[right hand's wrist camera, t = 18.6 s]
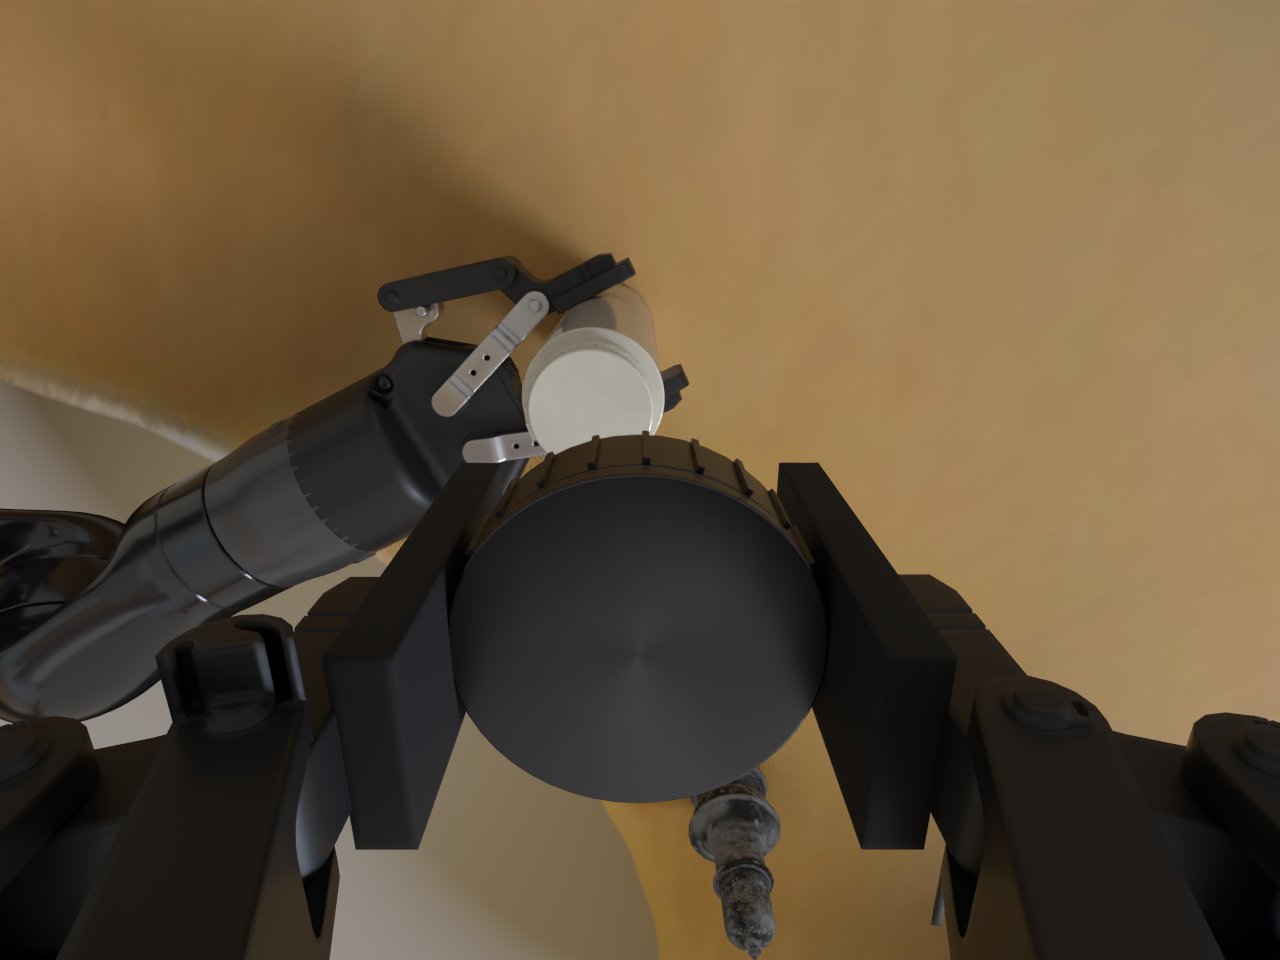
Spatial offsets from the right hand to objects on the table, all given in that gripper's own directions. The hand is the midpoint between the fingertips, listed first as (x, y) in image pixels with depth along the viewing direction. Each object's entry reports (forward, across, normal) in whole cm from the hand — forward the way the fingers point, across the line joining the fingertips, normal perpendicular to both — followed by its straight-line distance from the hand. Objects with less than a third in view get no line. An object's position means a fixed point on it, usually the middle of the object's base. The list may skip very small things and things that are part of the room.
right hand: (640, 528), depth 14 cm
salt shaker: (+26, -6, +31) cm, 41 cm away
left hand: (+20, -1, -1) cm, 20 cm away
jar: (+26, +2, 0) cm, 26 cm away
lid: (-4, 0, 0) cm, 4 cm away
